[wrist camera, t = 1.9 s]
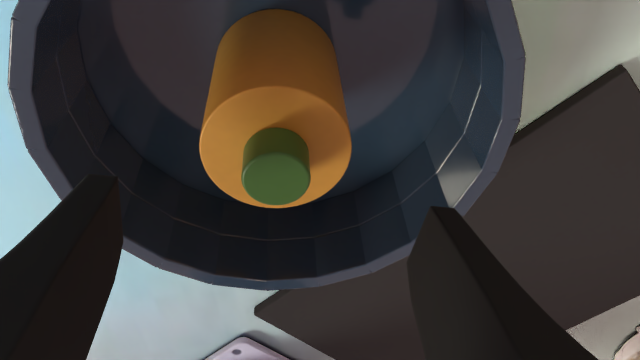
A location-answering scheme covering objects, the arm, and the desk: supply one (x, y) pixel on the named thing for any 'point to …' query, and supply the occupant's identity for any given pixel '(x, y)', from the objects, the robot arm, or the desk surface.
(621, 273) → the mat
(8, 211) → the desk surface
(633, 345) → the roast chicken plate
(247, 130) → the orange cylinder green stub
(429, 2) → the pot
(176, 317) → the desk surface
